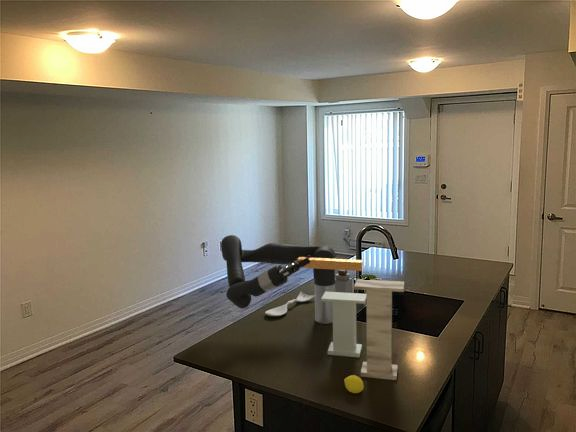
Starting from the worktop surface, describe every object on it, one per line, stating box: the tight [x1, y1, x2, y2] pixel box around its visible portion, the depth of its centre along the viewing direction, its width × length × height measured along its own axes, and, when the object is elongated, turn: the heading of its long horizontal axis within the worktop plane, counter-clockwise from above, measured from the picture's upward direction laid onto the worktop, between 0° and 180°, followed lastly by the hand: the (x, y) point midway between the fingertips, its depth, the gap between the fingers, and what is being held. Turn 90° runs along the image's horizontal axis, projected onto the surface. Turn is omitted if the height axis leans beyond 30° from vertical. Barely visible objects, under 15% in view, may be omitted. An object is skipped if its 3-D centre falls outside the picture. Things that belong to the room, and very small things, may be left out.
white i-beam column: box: [321, 292, 367, 358], centre depth 180 cm, size 8×16×22 cm, turn 75°
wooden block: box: [297, 257, 364, 272], centre depth 178 cm, size 3×24×3 cm, turn 75°
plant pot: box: [361, 273, 378, 294], centre depth 247 cm, size 9×9×9 cm
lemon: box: [343, 374, 364, 394], centre depth 153 cm, size 7×5×5 cm
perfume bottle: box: [335, 270, 353, 293], centre depth 229 cm, size 7×7×18 cm
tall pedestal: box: [353, 278, 405, 381], centre depth 163 cm, size 8×16×32 cm, turn 75°
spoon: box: [264, 291, 315, 317], centre depth 230 cm, size 9×32×4 cm, turn 143°
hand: (309, 258), depth 180 cm, fingers closed on wooden block, 3 cm apart
